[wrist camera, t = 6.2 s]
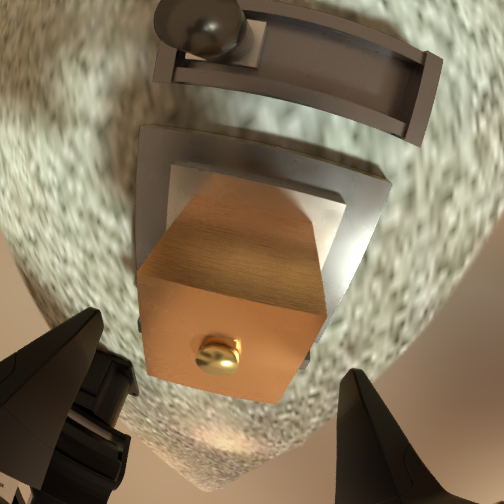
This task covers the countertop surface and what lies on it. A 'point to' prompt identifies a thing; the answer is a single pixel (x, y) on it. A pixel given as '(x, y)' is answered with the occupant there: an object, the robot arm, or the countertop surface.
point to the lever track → (324, 69)
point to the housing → (231, 300)
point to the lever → (211, 31)
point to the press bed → (258, 195)
